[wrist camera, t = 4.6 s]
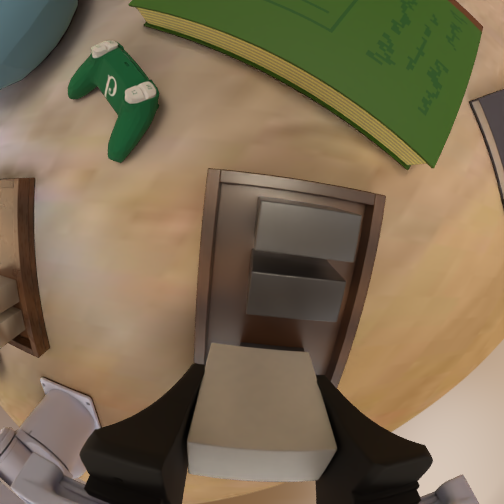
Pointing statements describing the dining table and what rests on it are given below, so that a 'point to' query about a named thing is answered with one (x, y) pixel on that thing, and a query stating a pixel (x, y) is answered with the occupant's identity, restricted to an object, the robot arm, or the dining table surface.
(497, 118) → the notebook
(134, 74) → the gaming controller
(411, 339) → the dining table surface
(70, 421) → the robot arm
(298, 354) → the cream rectangular block
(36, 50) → the vase
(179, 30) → the hardcover book
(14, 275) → the brown wooden tray
